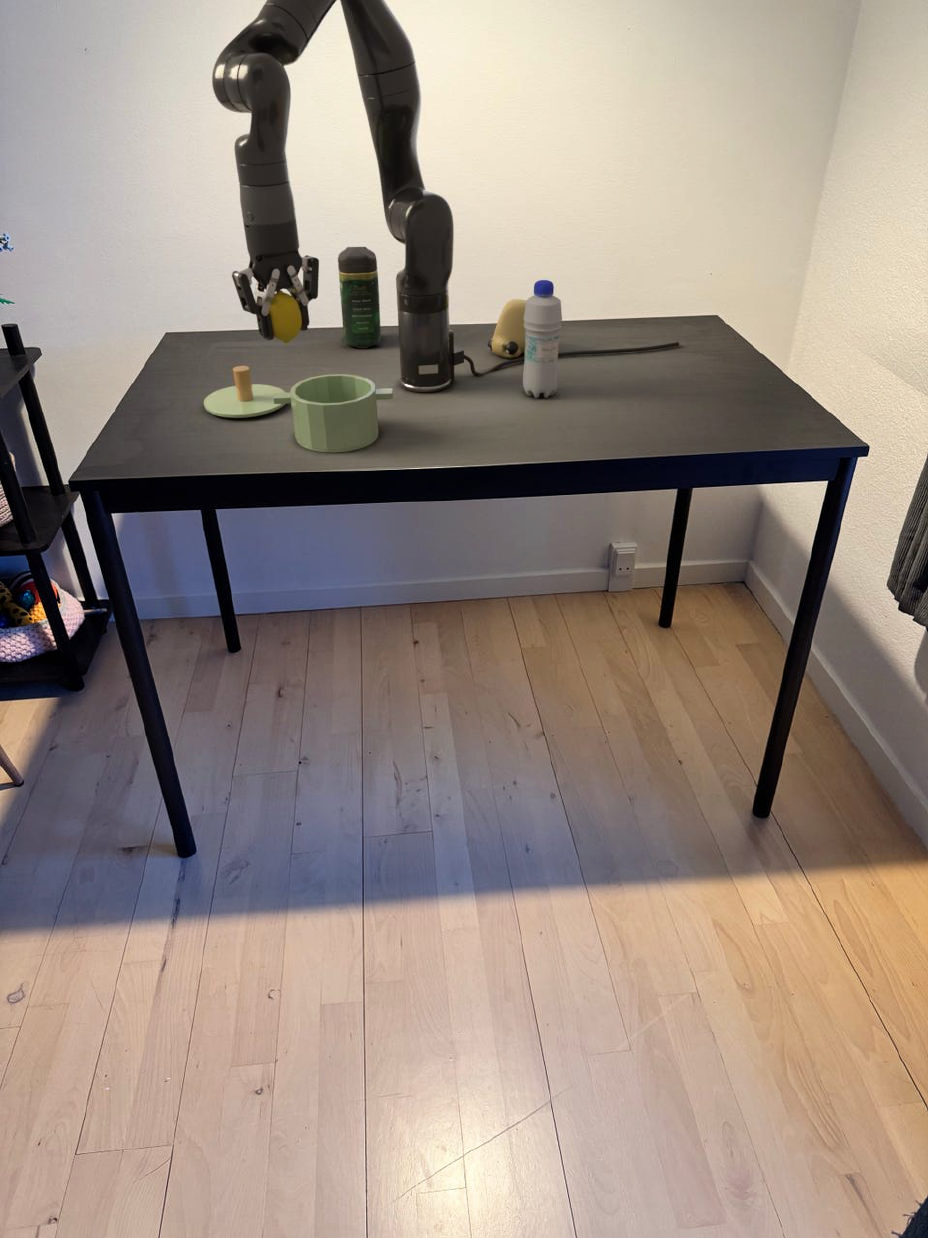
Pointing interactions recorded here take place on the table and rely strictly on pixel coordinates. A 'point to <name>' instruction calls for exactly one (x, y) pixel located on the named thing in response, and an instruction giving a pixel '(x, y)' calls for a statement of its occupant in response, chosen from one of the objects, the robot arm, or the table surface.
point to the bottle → (541, 340)
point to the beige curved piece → (510, 330)
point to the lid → (243, 397)
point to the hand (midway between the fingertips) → (285, 333)
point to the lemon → (285, 316)
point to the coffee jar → (359, 297)
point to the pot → (334, 411)
